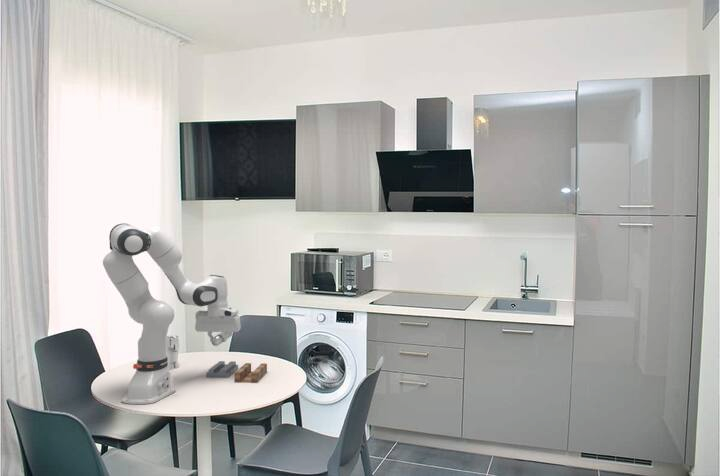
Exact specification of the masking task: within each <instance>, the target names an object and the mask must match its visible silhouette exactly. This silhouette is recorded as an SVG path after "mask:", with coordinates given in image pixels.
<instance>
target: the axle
mask: <svg viewBox="0 0 720 476" xmlns="http://www.w3.org/2000/svg"><path fill="white" fill-rule="evenodd" d="M224 336H225V334H224V332H219V333H218V334H217V335H215V336H213V338H212V340H211V344H212V345H213V346H214V347H218V346H219V345H221V344H222V343H223V342H222V338H223V337H224ZM232 336H233V332H229V334H228V335H227V337H226V341H227V340H228V339H229V338H231V337H232Z"/></svg>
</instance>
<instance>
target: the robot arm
mask: <svg viewBox="0 0 720 476" xmlns="http://www.w3.org/2000/svg"><path fill="white" fill-rule="evenodd" d="M109 249H110V250H111V251H110V252H108V253H107V254H106V255H105V256H104V257H103V259H102V266H103V268H104V270H105V272H106V274H107V276H108V278H109V279H110V282H111V283H112V284H113V285H114V287H115V288H116V290H117V291H118V293H119V294H120V296H121V297H122V299H123V301H124V302H125V304H126V307H127V310H128V315H129V317H130V318H131V319H132V320H133V321H134V322H136V323H137V324H141V325H142V330H141V336H140V338H139V339H138V340H137V357H138V358H137V361H136V363H133V366H132V368H133V370H135V372H134V374H133V376H132V378H131V380H130V382H129V383H128V385H127V394H125V396H123V397H122V399H121V401H120V402H121V403H122V402H123V404H129V405H149V404H154V403H156V402H158V401H160V400H162V399H164V398H166V397H168V396H170V395H172V394H174V393H176V389H175V388H174V387H173V381H172V372H171V371H170V369H168V368H167V365H168V359H167V356H166V337H167V336H168V331H169V327H170V325H171V324H172V323H173V321H174V320H175V319H174V318H175V310H174V308H173V307H172V306H171V305H170V304H169V303H166V301H162V300H158V299H155V298H154V297H153V296H152V294H151V291H150V289H149V282H148V281H147V279H146V278H145V276H144V275H143V273H142V271H141V270H140V269H139V267H138V266H137V264H136V263H135V262H134V259H133V257H134V256H139V254H141V253H144V252H146V253H147V254H148V255H149V256H150V257H151V258H152V260H153V261H154V263H155V264H156V265H157V266H158V267H159V268H160V270H161V271H163V274H164V275H165V276H166V277H167V279H168V280H169V282H170V283H171V285H172V286H173V287H174V289H175V292H176V295H177V298H178V300H179V301H180V303H182V304H183V305H190V306H195V307H207V309H206V310H198V311H196V313H195V318H194V319H195V326H194V328H195V329H194V330H195V331H196V332H198V333H199V332H205V333H207V336H208V337H209V341H210V342H211V340H212V338H213V337H214V336H213V333H221V332H224V334H225V336H224V337H223V338H222V343H226V342H227V340H226V337H227V335H228V334H229V332H232V333H239V331H240V330H241V329H242V325H241V323H242V322H241V319H240V318H241V317H240V316H239V309H237V308H234V307H232V306H229V304H228V299H227V298H228V284H227V279H226V277H224V276H223V275H217V274H210V275H208V276H207V277H206V278H205V279H204V280H203V281H201V282H199V283H196V282H193V281H191V280H189V279H188V278H187V277H186V276H185V274H184V273H183V271H182V269H181V268H180V266H179V265H180V263H181V261H182V260H183V252H182V251H181V248H180V247H179V246H178V245H177V243H176V242H175V241H174V240H173V238H172V237H171V236H170V235H169V234H168V233H167V232H166V231H165V230H164V229H163V228H162V227H160V226H158V225H151V226H149V227H147V228H145V229H143V230H141V229H138V228H136V227H135V226H133V225H131V224H128V223H123V222H122V223H118V224H116V225H114V226H113V227H112V228H111V230H110V231H109Z"/></svg>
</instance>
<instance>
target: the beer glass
mask: <svg viewBox="0 0 720 476" xmlns="http://www.w3.org/2000/svg"><path fill="white" fill-rule="evenodd" d="M179 341H180V340H179V336H178V335H174V334H172V335H167V337H166V356H167V359H168V365H167V368H168V370H175V369H178V368H179V361H178V357H179V350H180V342H179Z"/></svg>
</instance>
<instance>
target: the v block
mask: <svg viewBox="0 0 720 476" xmlns="http://www.w3.org/2000/svg"><path fill="white" fill-rule="evenodd" d="M225 362H226V361H223V360H220V361H218V362H217V363H216V364H214V365H212V366H211V367H210V368H209V369H208V371H207V372H206V378H207V379H208V378H210V379H211V378H212V379H213V378H215V379H216V378H217V379H229V378H230V377H231V376H232V375H234V373H235V372H236V371H237V370H239V364H237V362H236V361H235V360H234V361H229V362H228V363H227V364H226V363H225Z"/></svg>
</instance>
